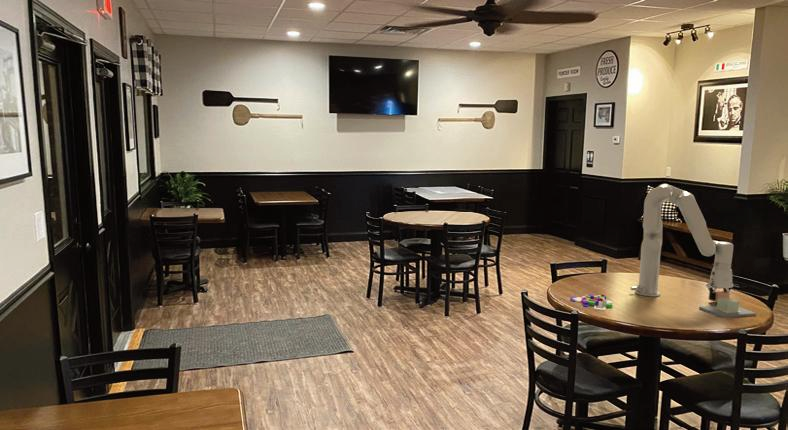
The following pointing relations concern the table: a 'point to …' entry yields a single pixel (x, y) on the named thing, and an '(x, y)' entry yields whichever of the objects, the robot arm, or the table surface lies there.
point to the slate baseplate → (722, 314)
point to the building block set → (593, 301)
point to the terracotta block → (720, 295)
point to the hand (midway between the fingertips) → (718, 299)
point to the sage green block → (727, 304)
